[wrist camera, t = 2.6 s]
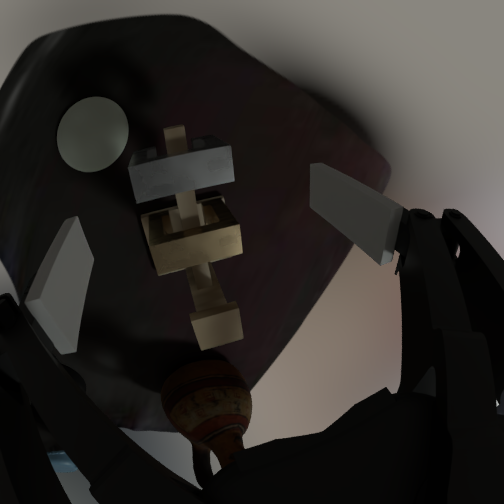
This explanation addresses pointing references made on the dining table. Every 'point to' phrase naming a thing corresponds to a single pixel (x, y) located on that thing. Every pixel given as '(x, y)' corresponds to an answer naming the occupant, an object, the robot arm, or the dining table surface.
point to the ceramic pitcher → (208, 411)
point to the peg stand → (200, 265)
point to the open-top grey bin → (180, 169)
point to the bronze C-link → (194, 238)
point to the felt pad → (92, 134)
